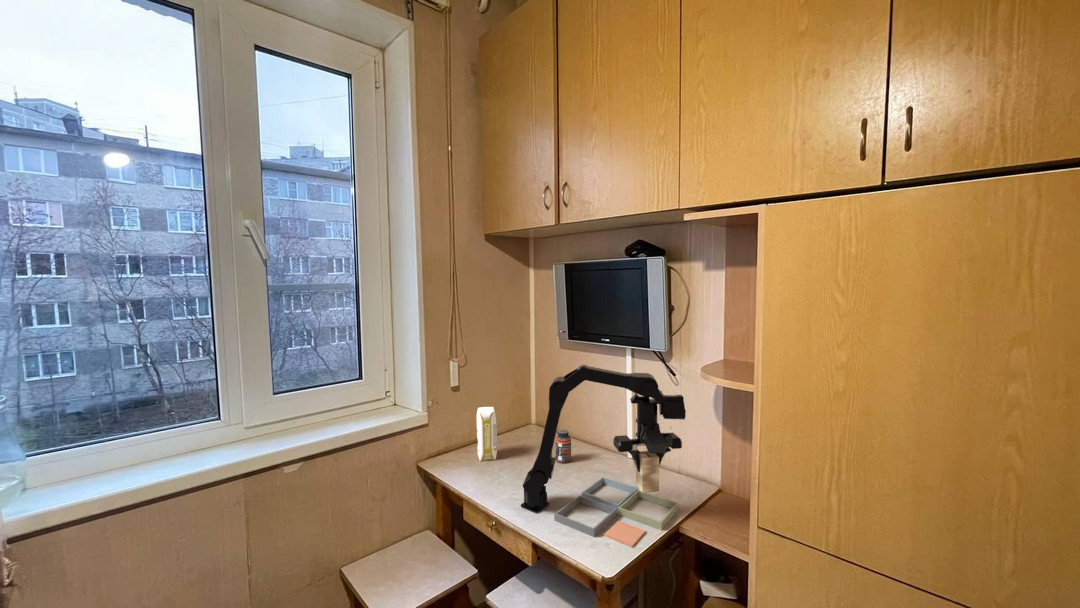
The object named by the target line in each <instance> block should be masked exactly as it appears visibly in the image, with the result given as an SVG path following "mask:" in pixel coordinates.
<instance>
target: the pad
mask: <svg viewBox="0 0 1080 608" xmlns="http://www.w3.org/2000/svg"><path fill="white" fill-rule="evenodd" d="M644 533H645V534H646V530H645V529H643V528H640V527H637V526H635V525H631V524H628V523H626V522H623V521H621V520H618V521H617V522H615V523H614V525H612V526H611V527H610V528H609V529H608V530H607V531H606V532H605V533H604V537H606V538H608V539H611V540H613V541H615V542H618V543H620V544H624V545H626V546H628V547H631V548H633V547H635V545H636V544H637V543H638V541H639V540H640V539H642V537H643V536H644V535H645V534H644ZM643 534H644V535H643ZM642 535H643V536H642ZM641 536H642V537H641ZM635 543H636V544H635ZM634 544H635V545H634Z"/></svg>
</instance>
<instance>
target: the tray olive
mask: <svg viewBox="0 0 1080 608" xmlns="http://www.w3.org/2000/svg"><path fill="white" fill-rule="evenodd" d="M637 499H642V500H644V501H647V502H651V503H654V504H658V505H661V506H663V507H667V508H670V510H669V511H668V512H667V513H666V514H665V515H664V516H663V518H662V519H661V520H658V519H654V518H651V517H649V516H646V515H642V514H640V513H637V512H635V511H631V510H629V509H628V508H629V507H630V506H631V505H632V504H634V503H635V501H637ZM679 504H680V503H679V502H677V501H674V500H670V499H667V498H663V497H661V496H658V495H654V494H651V493H649V492H648V493H642V492H641V490H640V489H638V490H637V491H636V492H635V493H634V494H633V495H632V496H631V497H629V498H628V499H627V500H626V501H625V502H624V503H623V504H622V505H621V506H619V507H618V511H617V516H618V515H619V516H621V517H624V518H626V519H629V520H632V521H635V522H637V521H638V523H640V522H641V524H643V523H644V525H646V526H648V525H649V527H651V526H652V527H651V528H654V529H657V530H659V529H660V531H662V530H663V529H664V528H665V526H667V524H668V523H669V521H670V520H671V519H672V518H673V517H674V516H675V514H677V512H678V511H679V506H680V505H679Z"/></svg>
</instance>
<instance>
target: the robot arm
mask: <svg viewBox="0 0 1080 608" xmlns="http://www.w3.org/2000/svg"><path fill="white" fill-rule="evenodd" d="M585 381H588V382H593V383H599V384H603V385H608V386H611V387H612V386H613V387H618V388H624V389H626V390H628V391H630V392H632V393H634V395H633V396H632V397H630V398H629V399H630V403H631V404H636V412H637V413H636V418H635V423H636V432H635V437H636V438H630V437H629V436H628V435H627V434H626V435H624V434H623V435H615V436H614V438H613V442H612V443H613V446H614V448H615V449H616V450H617V451H618V452H620V453H629V454H630V456H631V459H632V460H633V463H634V466H635V469H637V471H638V472H640V460H639V455H640V451H641V450H639V449H638V448H639V446H645V448H646V451H648V452H649V453H655V454H656V455H657V456H658V457H659V467H660V466H661V463H662V460H663V458H664V456H665V455H666V454H667V453H668V452H671V451H672V450H677V449H682V448H683V441H682V438H680V437H679V436H678V435H677V434H675V433H674V432H661V430H660V429H661V427H660V424H659V422H658V414H659V415H660V416H662V417H663V419H664V420H683V421H684V420H686V411H687V410H686V407H685V401H684V400H685V399H684V398H685V397H684V396H683V395H682V394H675V395H672V394H669V395H668V394H665V395H664V393H663V392H662V391H663V390H660V389H659V384H658V382H657V379H656V378H655V376H653V374H651V373H649V372H632V373H631V372H630V373H625V372H619V371H615V370H609V369H605V368H599V367H595V366H589V365H587V364H581V365H580V366H578V367H577V368H575V369H574V370H572V371H569V372H568V373H567V374H565V375H564V376H557V377H556V378H554V379H553V380H552V382H551V384H550V386H549V390H548V412H547V417H546V420H545V421H546V422H545V426H544V429H543V430H544V431H543V434H542V439H541V443H540V446H539V447H540V448H539V451H538V454H537V456H536V459H535V460H534V463H533V466H532V468H531V469H530V470H529V471H528V472H527V474H526V476H525V479H524V481H523V484H522V488H523V502H522V503H521V504H520V507H521V508H524V509H526V510H527V511H528V510H529V511H531V512H533V513H536V514H537V513H539V512H541V511H542V510H543V509H545V508H546V507H548V506H549V505H550V501H548V492H547V486H546V484H547V483H548V482H549V480H552V478H553V474H554V469H555V465H556V462H557V461H556V457H553V449H554V444H555V441H556V437H557V432H558V426H559V423H560V418H561V413H562V411H563V410H562V409H563V408H564V405H565V403H566V401H567V399H568V396H569V394H570V392H571V391H573V390H575V389H576V388H577V387H578V386H579V385H581V384H582V383H583V382H585ZM658 412H659V413H658Z"/></svg>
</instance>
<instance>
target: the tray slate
mask: <svg viewBox="0 0 1080 608" xmlns="http://www.w3.org/2000/svg"><path fill="white" fill-rule="evenodd" d="M601 485H605V486H609V487H613V488H616V489H618V490H619V489H620V490H622V491H625V492H629V494H628V495H626V496H625V497H624V498H623V499H622V500H620V502H618V503H617V502H614V501H610V500H608V499H605V498H602V497H599V496H597V495H593V494H592V492H594V491H595V490H596V489H598V488H599V487H600V486H601ZM637 490H639V488H638V486H637V487H636V486H633V485H630V484H627V483H623V482H621V481H617V480H614V479H610V478H607V477H605V476H601V477H600V478H599V479H597V480H596V481H594V483H592V484H591V485H589V486H588V487H587V488H585V489H584V490H582V491H581V496H583V497H586V498H589V499H592V500H594V501H597V502H600V503H603V504H606V505H609V506H611V507H614V508H617V512H618V507H619V506H621V505H622V504H623V503H624V502H625V501H626V500H627V499H628V498H629V497H631V496H632V495H633V494H634V493H635V492H636V491H637Z"/></svg>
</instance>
